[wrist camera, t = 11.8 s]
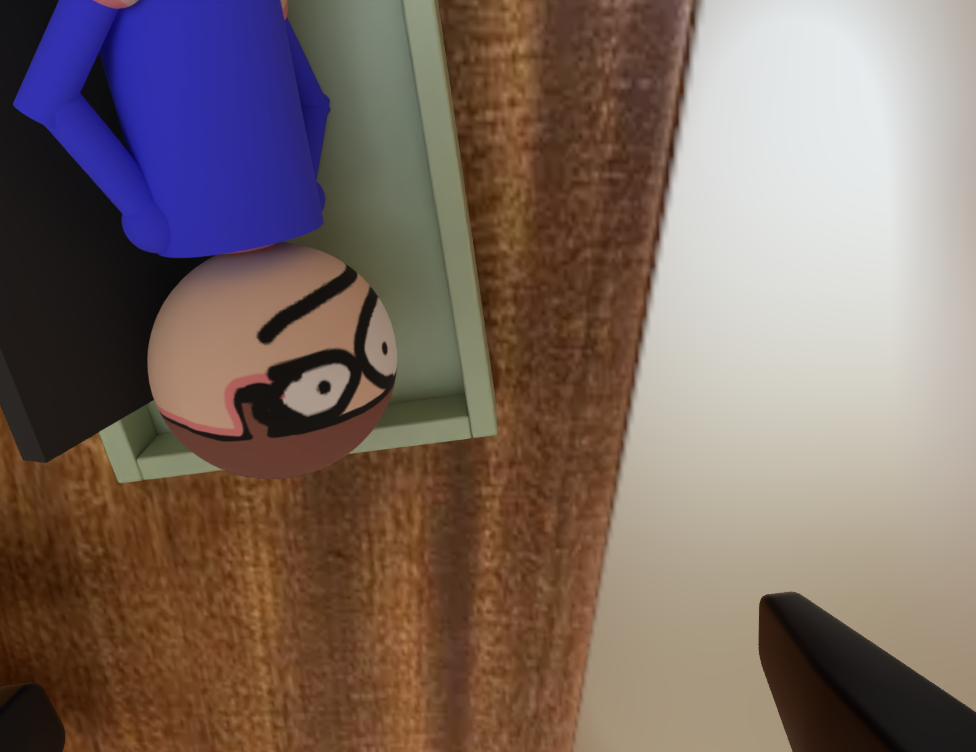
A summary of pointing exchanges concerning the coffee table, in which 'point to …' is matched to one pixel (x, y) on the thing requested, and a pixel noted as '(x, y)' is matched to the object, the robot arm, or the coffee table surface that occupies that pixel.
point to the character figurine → (176, 238)
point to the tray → (380, 228)
